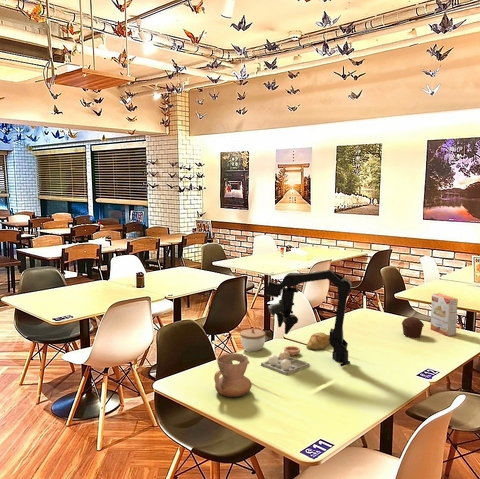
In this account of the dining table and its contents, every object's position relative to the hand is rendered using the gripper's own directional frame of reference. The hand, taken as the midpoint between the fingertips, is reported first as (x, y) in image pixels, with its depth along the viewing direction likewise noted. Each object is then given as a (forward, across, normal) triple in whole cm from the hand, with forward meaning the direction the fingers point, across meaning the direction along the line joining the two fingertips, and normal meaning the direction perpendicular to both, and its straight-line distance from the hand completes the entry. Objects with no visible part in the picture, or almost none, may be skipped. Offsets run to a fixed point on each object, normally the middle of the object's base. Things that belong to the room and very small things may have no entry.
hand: (282, 330), depth 220 cm
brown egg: (+11, +10, -1) cm, 15 cm away
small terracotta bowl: (+12, +2, +6) cm, 14 cm away
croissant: (+11, -9, +25) cm, 29 cm away
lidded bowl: (+15, -11, -10) cm, 21 cm away
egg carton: (+12, +15, -2) cm, 19 cm away
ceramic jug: (+14, +33, -31) cm, 48 cm away
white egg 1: (+12, +13, -8) cm, 19 cm away
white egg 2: (+11, +20, -4) cm, 23 cm away
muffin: (+4, -10, +81) cm, 82 cm away
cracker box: (+2, -11, +101) cm, 102 cm away
